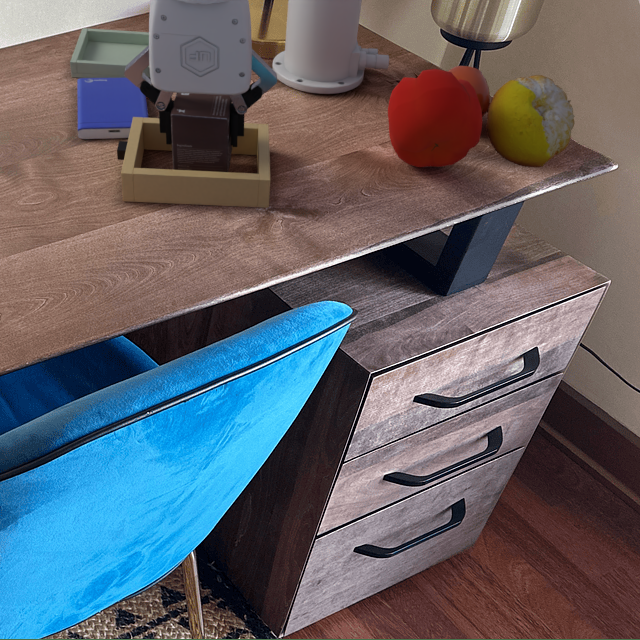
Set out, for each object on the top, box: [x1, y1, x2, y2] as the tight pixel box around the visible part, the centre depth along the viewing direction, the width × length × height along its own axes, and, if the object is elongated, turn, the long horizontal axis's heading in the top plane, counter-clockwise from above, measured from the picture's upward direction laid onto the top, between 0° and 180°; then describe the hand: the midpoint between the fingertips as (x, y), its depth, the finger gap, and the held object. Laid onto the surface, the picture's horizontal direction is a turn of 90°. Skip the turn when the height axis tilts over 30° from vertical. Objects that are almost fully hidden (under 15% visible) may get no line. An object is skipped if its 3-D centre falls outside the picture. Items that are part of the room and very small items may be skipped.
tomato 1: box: [387, 68, 483, 168], centre depth 95 cm, size 11×12×9 cm
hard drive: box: [76, 78, 149, 140], centre depth 101 cm, size 2×8×12 cm
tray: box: [69, 27, 150, 79], centre depth 111 cm, size 11×11×2 cm
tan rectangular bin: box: [116, 117, 271, 209], centre depth 92 cm, size 16×12×4 cm
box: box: [171, 93, 232, 172], centre depth 90 cm, size 6×6×7 cm
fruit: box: [485, 74, 576, 168], centre depth 99 cm, size 11×10×8 cm
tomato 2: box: [447, 65, 491, 118], centre depth 106 cm, size 7×7×8 cm
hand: (202, 137), depth 91 cm, fingers closed on box, 6 cm apart
